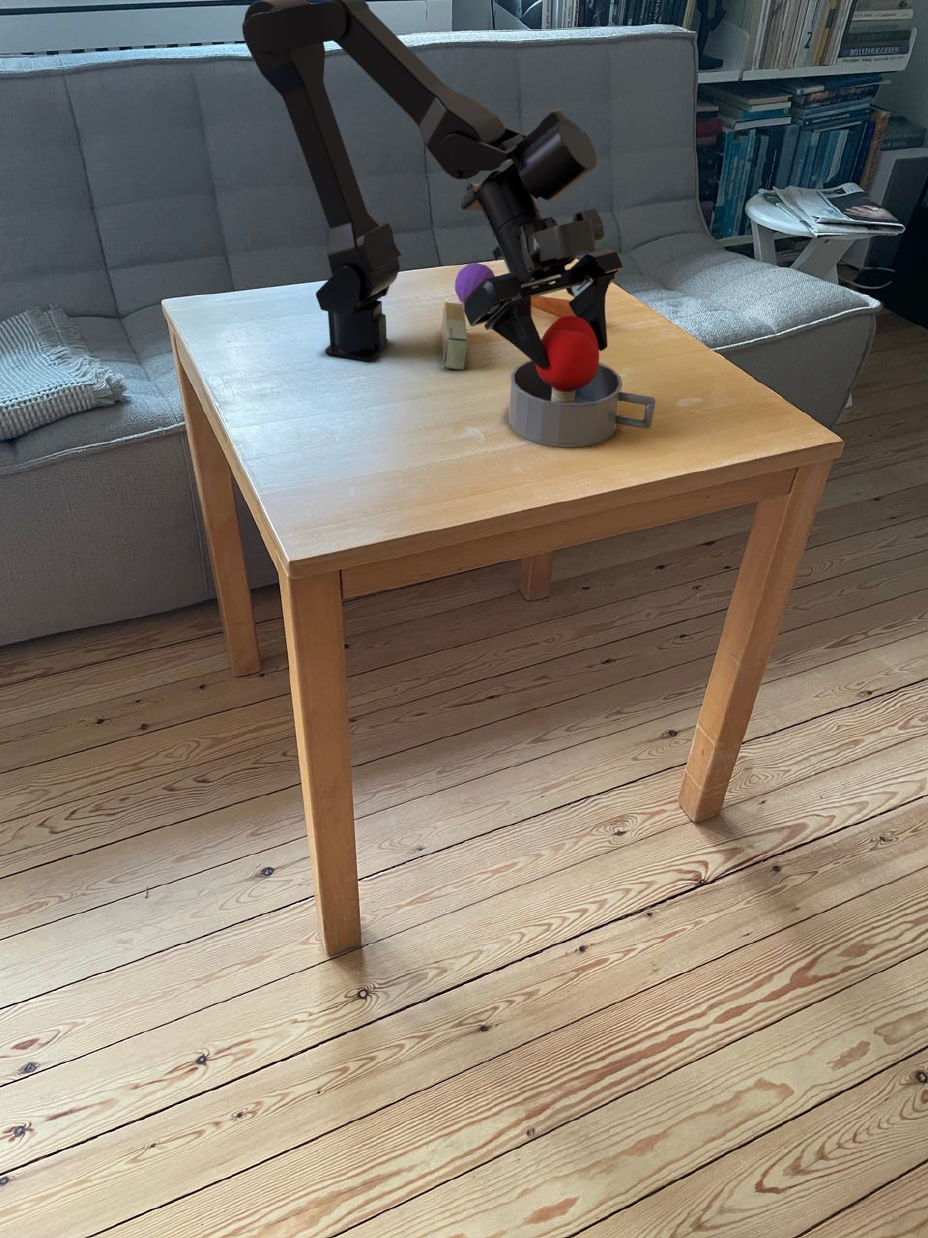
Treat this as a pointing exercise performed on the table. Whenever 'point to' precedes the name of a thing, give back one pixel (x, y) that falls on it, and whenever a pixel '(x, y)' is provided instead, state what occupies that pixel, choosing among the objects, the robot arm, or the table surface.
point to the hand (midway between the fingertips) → (575, 358)
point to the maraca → (478, 272)
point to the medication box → (454, 336)
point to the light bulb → (569, 357)
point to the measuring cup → (571, 409)
